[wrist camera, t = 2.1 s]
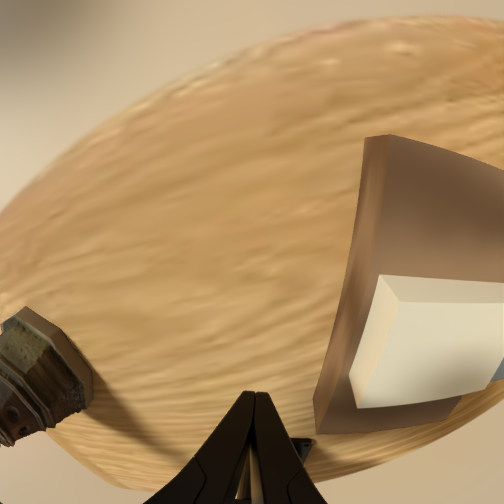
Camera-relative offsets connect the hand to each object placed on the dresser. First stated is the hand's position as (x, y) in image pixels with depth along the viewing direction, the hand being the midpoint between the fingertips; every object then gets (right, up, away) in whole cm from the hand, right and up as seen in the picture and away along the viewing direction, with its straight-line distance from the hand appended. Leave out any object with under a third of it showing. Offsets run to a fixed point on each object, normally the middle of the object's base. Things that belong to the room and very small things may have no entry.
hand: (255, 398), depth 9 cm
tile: (+10, +1, +4) cm, 11 cm away
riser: (+11, +2, +7) cm, 13 cm away
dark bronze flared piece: (-18, -4, +12) cm, 22 cm away
